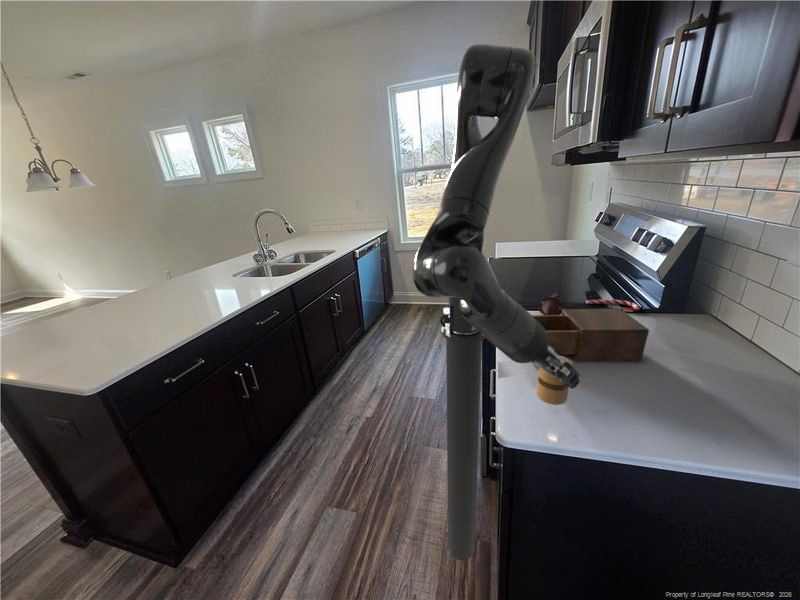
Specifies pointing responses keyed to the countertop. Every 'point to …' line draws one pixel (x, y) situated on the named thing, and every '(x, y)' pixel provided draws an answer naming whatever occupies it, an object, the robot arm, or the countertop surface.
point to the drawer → (560, 333)
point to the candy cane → (616, 303)
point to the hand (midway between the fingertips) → (561, 374)
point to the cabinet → (607, 335)
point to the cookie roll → (552, 387)
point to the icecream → (550, 305)
